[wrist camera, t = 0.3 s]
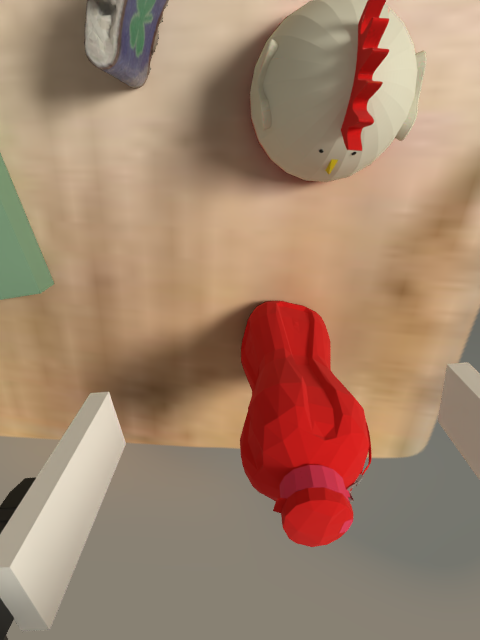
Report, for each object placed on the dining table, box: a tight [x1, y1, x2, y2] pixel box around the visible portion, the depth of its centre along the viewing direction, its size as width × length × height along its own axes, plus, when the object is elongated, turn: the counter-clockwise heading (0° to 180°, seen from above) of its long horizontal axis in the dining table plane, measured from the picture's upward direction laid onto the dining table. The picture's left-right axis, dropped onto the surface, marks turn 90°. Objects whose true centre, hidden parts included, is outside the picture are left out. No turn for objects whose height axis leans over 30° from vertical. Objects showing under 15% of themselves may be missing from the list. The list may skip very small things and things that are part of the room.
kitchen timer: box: [250, 0, 426, 182], centre depth 27 cm, size 14×14×15 cm
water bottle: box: [240, 301, 371, 547], centre depth 33 cm, size 9×11×25 cm
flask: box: [84, 0, 168, 88], centre depth 26 cm, size 9×3×11 cm, turn 156°
